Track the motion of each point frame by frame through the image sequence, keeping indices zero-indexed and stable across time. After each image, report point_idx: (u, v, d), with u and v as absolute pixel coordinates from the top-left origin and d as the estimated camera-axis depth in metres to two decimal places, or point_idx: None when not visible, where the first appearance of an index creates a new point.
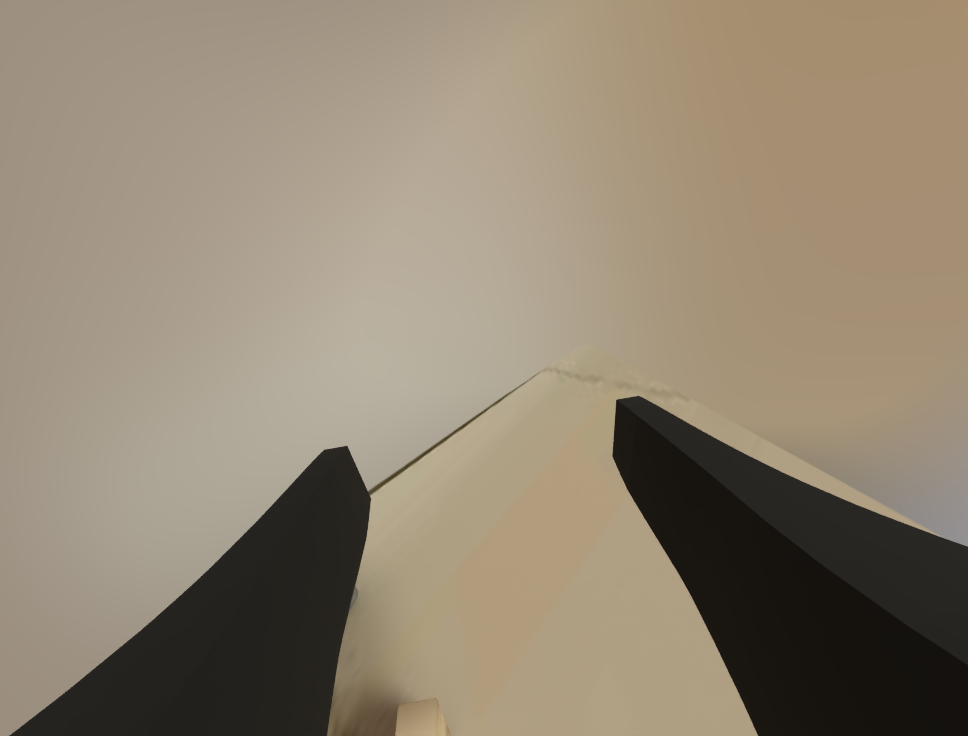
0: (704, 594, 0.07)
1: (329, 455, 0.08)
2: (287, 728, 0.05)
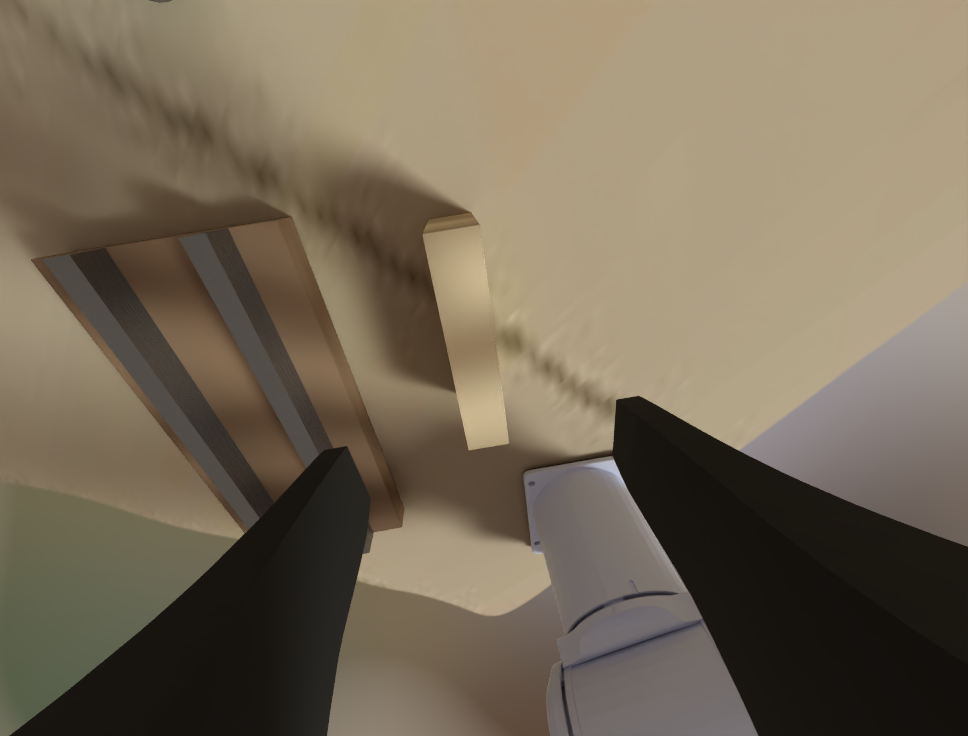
0: (704, 594, 0.07)
1: (329, 455, 0.08)
2: (287, 728, 0.05)
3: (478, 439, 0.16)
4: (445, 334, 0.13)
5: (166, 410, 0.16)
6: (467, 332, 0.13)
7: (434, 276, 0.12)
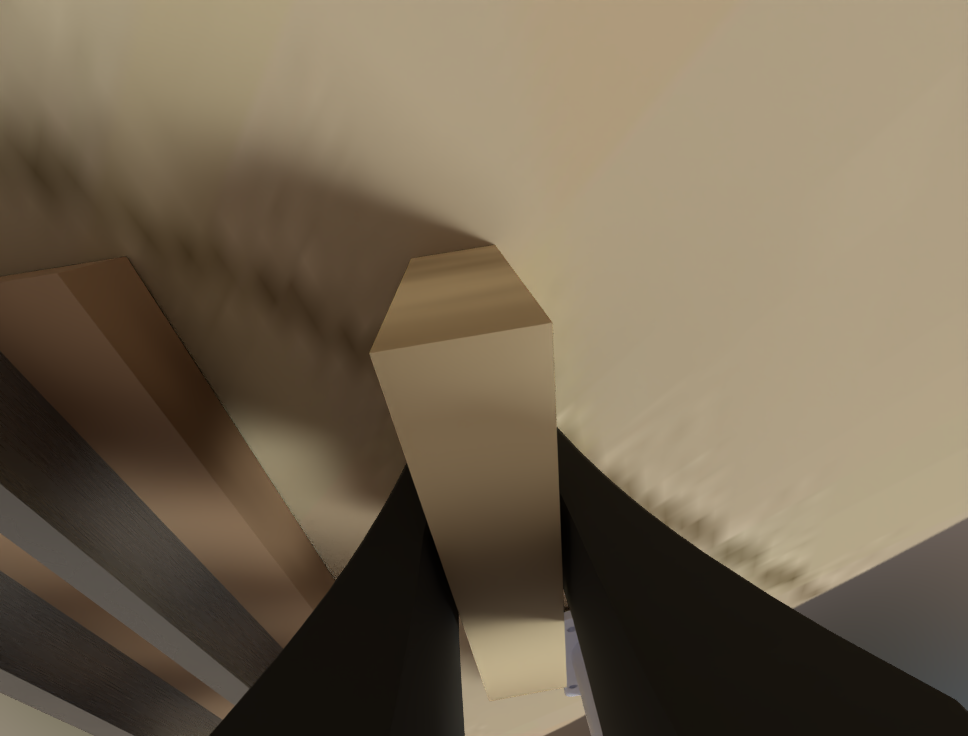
0: (576, 617, 0.06)
1: None
2: (448, 698, 0.05)
3: (509, 688, 0.08)
4: (444, 558, 0.05)
5: None
6: (498, 550, 0.06)
7: (412, 452, 0.04)
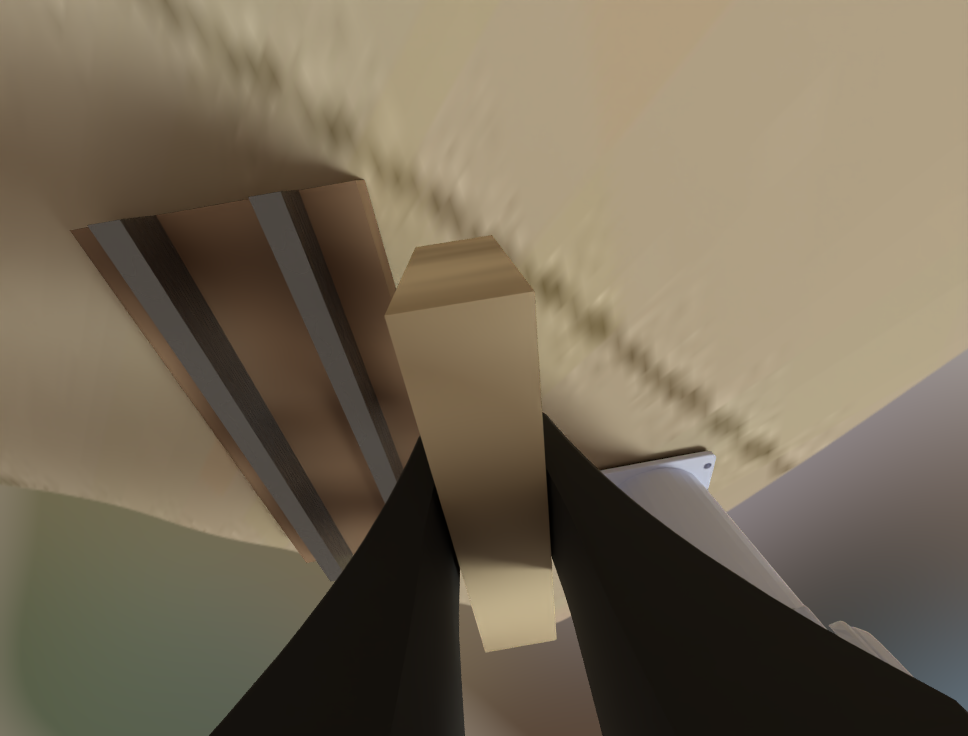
0: (575, 617, 0.06)
1: None
2: (449, 698, 0.05)
3: (503, 639, 0.09)
4: (444, 505, 0.06)
5: (220, 406, 0.14)
6: (491, 499, 0.06)
7: (418, 404, 0.05)
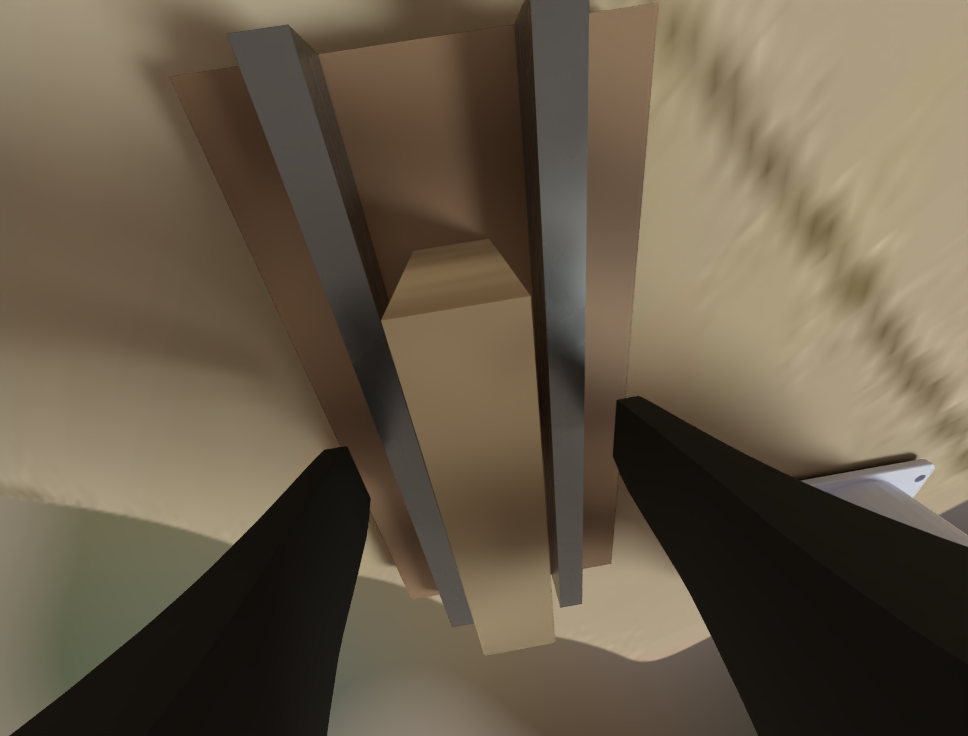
0: (704, 594, 0.07)
1: (329, 455, 0.08)
2: (287, 728, 0.05)
3: (502, 642, 0.09)
4: (442, 508, 0.06)
5: (376, 389, 0.09)
6: (489, 502, 0.06)
7: (416, 408, 0.05)
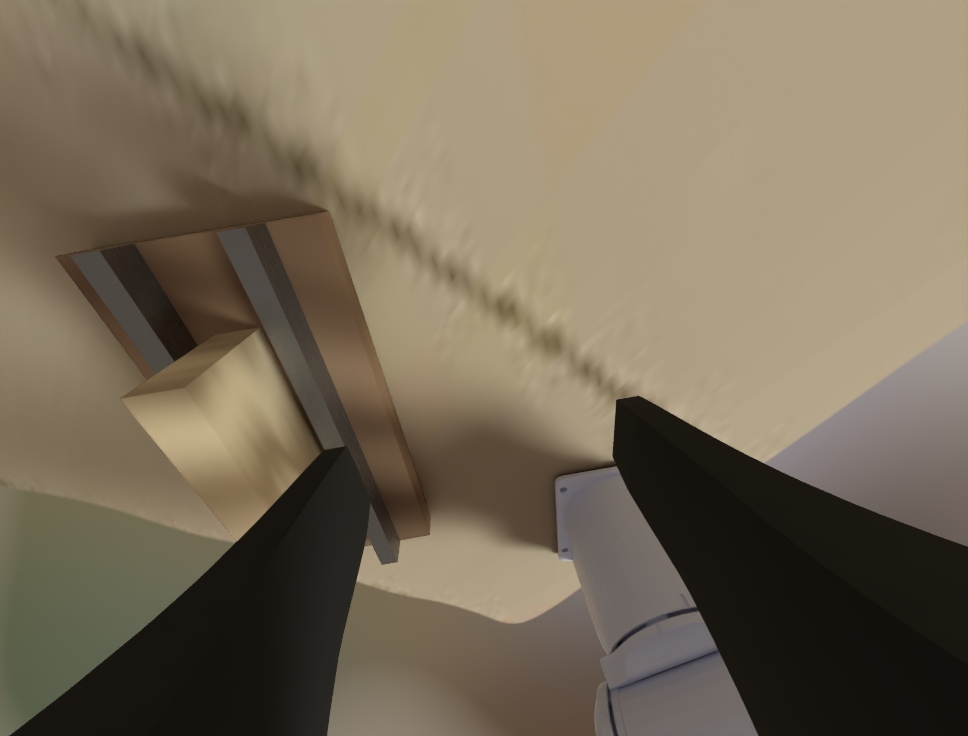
0: (704, 594, 0.07)
1: (329, 455, 0.08)
2: (287, 728, 0.05)
3: None
4: (190, 482, 0.12)
5: None
6: (215, 479, 0.12)
7: (152, 434, 0.11)
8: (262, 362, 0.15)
